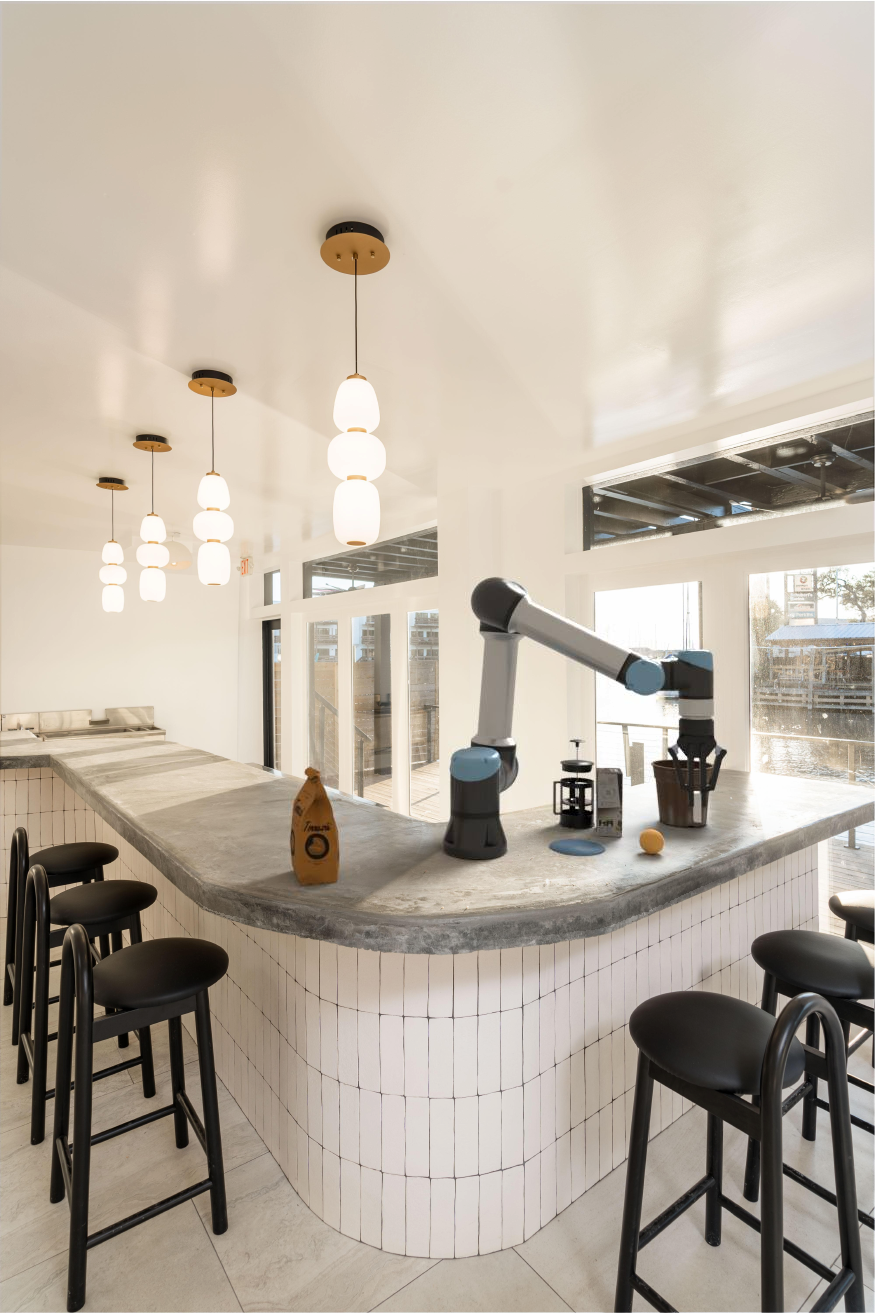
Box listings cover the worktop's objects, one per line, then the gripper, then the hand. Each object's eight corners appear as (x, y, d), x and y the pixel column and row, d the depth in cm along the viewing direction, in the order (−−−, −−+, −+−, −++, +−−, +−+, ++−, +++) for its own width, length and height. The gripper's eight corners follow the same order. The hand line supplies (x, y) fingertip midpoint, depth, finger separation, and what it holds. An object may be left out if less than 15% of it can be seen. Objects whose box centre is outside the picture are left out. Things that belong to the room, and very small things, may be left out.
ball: (639, 855, 153) (639, 831, 153) (639, 849, 158) (639, 825, 158) (664, 857, 151) (664, 833, 151) (663, 851, 157) (663, 827, 157)
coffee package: (291, 888, 131) (291, 777, 131) (289, 868, 143) (289, 766, 143) (342, 884, 134) (342, 775, 134) (335, 865, 146) (335, 764, 146)
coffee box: (623, 837, 168) (623, 773, 168) (596, 836, 169) (597, 772, 169) (620, 828, 177) (620, 767, 176) (595, 827, 178) (595, 766, 178)
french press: (590, 819, 185) (591, 737, 185) (602, 829, 176) (602, 741, 176) (549, 820, 184) (549, 737, 184) (558, 829, 175) (558, 742, 175)
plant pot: (642, 824, 181) (643, 764, 181) (660, 812, 194) (660, 757, 194) (705, 833, 172) (706, 771, 172) (719, 820, 185) (720, 762, 185)
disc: (546, 852, 155) (546, 852, 155) (552, 837, 167) (552, 837, 167) (604, 857, 151) (604, 856, 151) (605, 842, 164) (605, 841, 164)
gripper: (724, 716, 154) (725, 818, 154) (665, 715, 157) (666, 815, 157) (729, 719, 146) (730, 826, 146) (666, 718, 150) (668, 823, 150)
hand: (697, 820), depth 152 cm, fingers closed
